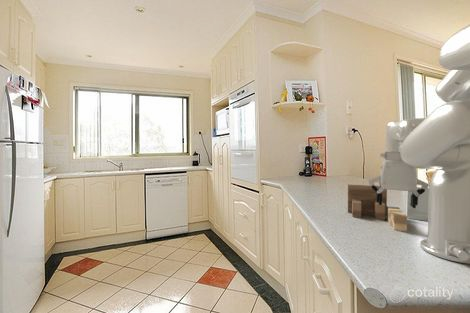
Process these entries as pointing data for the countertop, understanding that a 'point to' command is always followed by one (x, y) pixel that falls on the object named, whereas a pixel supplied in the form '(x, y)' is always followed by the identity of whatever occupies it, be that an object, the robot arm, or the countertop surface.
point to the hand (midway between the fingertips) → (395, 205)
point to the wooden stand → (366, 201)
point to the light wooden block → (396, 218)
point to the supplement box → (418, 206)
